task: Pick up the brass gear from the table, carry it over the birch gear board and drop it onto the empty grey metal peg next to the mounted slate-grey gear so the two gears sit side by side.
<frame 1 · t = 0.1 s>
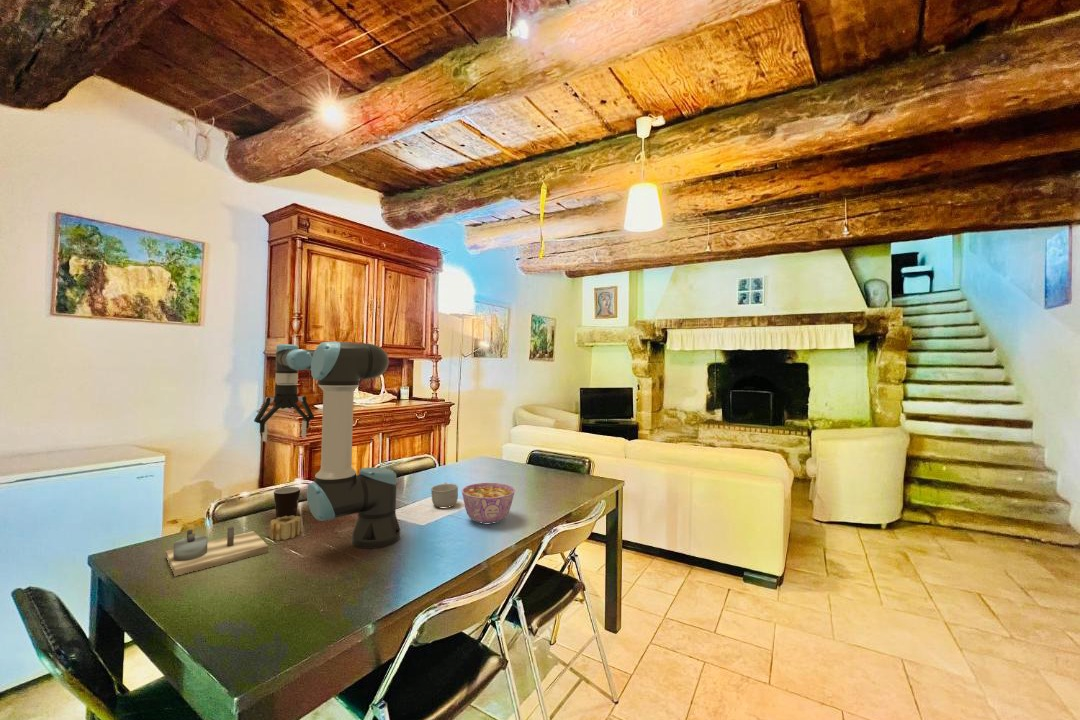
hand: (284, 439, 168), 28 cm above the table, tool pointing down, fingers open, 13 cm apart
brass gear: (285, 534, 146), on the table
coffee pot: (377, 503, 181), on the table
coffee mug: (288, 516, 164), on the table
birch gear board: (217, 555, 130), on the table
bowl of food: (487, 521, 164), on the table
teacup: (445, 505, 181), on the table
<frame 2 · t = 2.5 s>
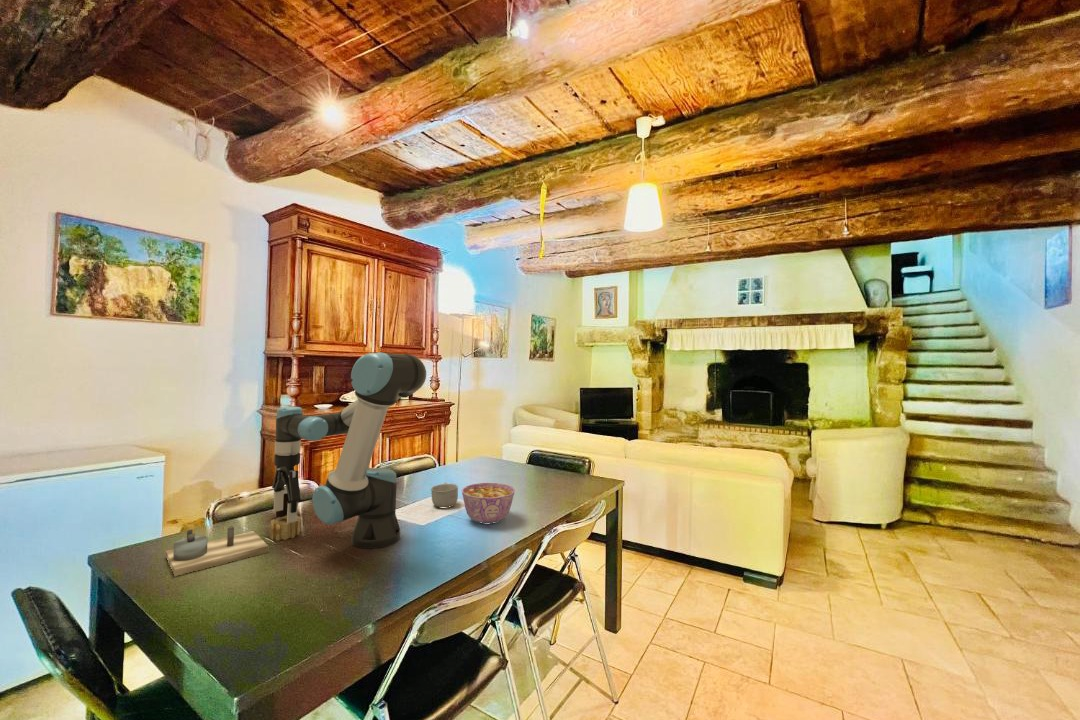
hand: (284, 516, 146), 6 cm above the table, tool pointing down, fingers open, 13 cm apart
nothing on the table moved.
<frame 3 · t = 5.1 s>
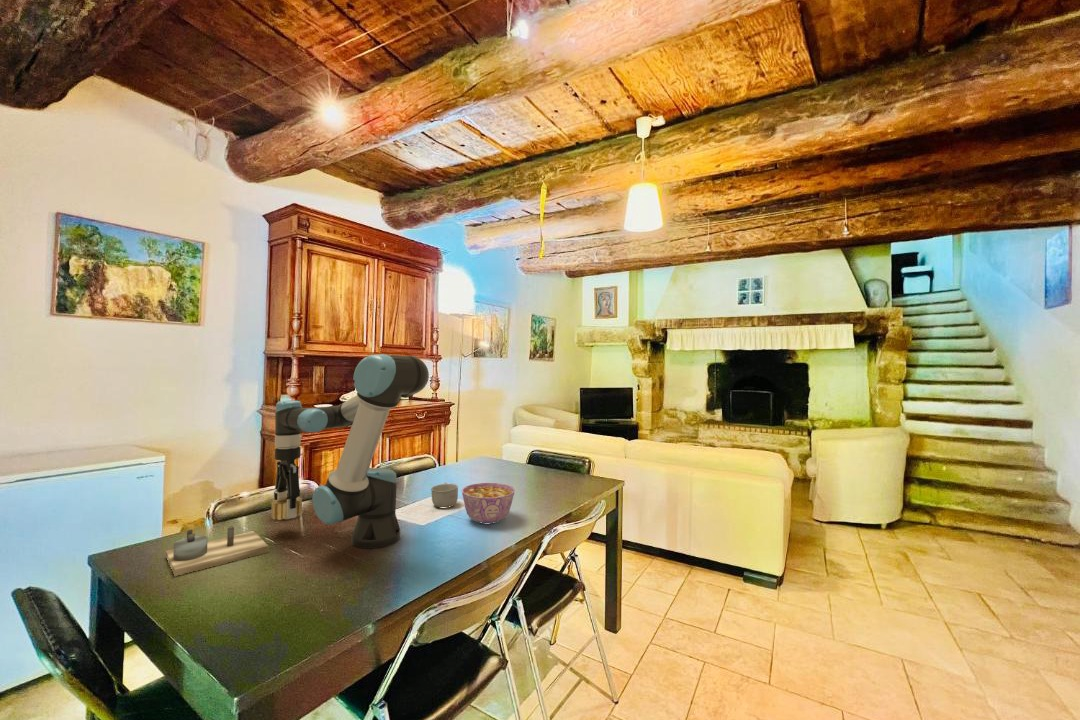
hand: (286, 514, 145), 7 cm above the table, tool pointing down, fingers closed on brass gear, 9 cm apart
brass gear: (286, 515, 145), point 7 cm above the table, touching gripper
everything else where it was.
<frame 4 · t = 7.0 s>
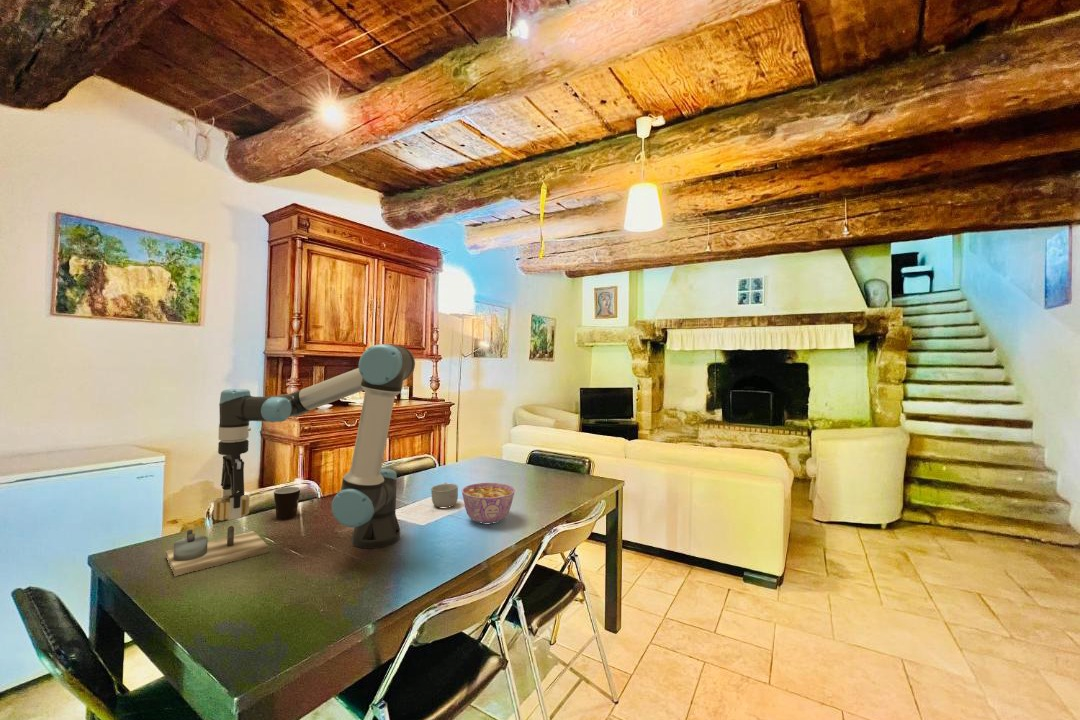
hand: (231, 514, 132), 11 cm above the table, tool pointing down, fingers closed on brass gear, 9 cm apart
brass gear: (231, 515, 132), point 11 cm above the table, touching gripper
everything else where it was.
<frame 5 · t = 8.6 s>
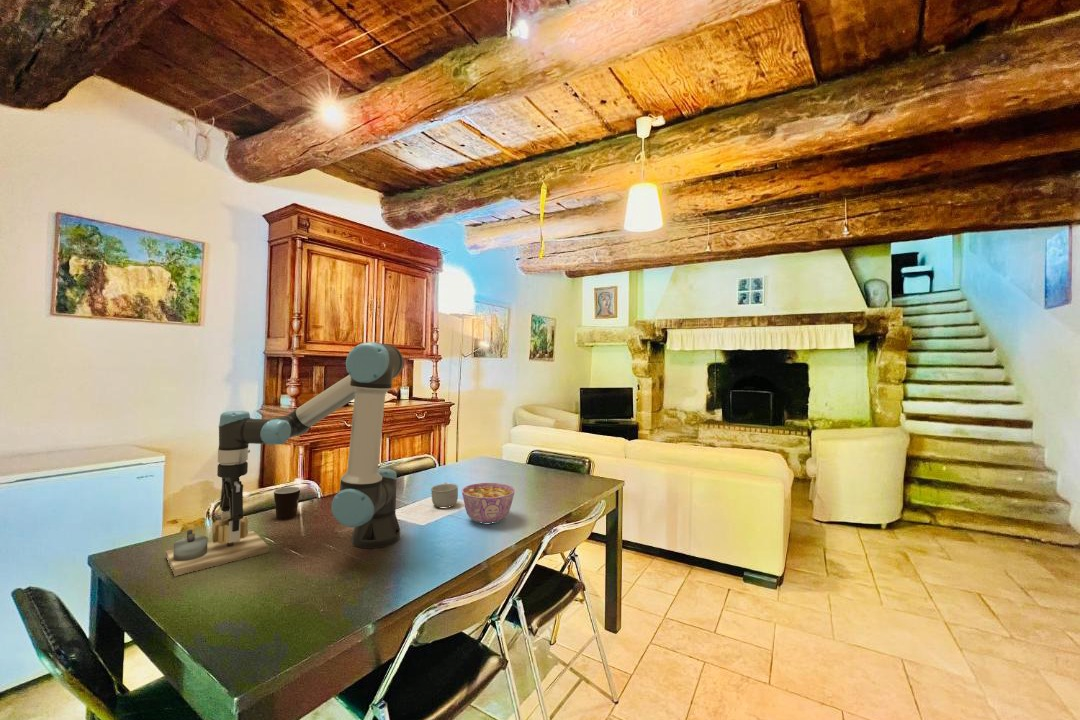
hand: (230, 536, 132), 5 cm above the table, tool pointing down, fingers closed on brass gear, 9 cm apart
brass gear: (230, 537, 132), point 4 cm above the table, touching gripper
everything else where it was.
when the fingers open (3 cm above the table, at t = 9.5 s): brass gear stays where it is, resting on birch gear board.
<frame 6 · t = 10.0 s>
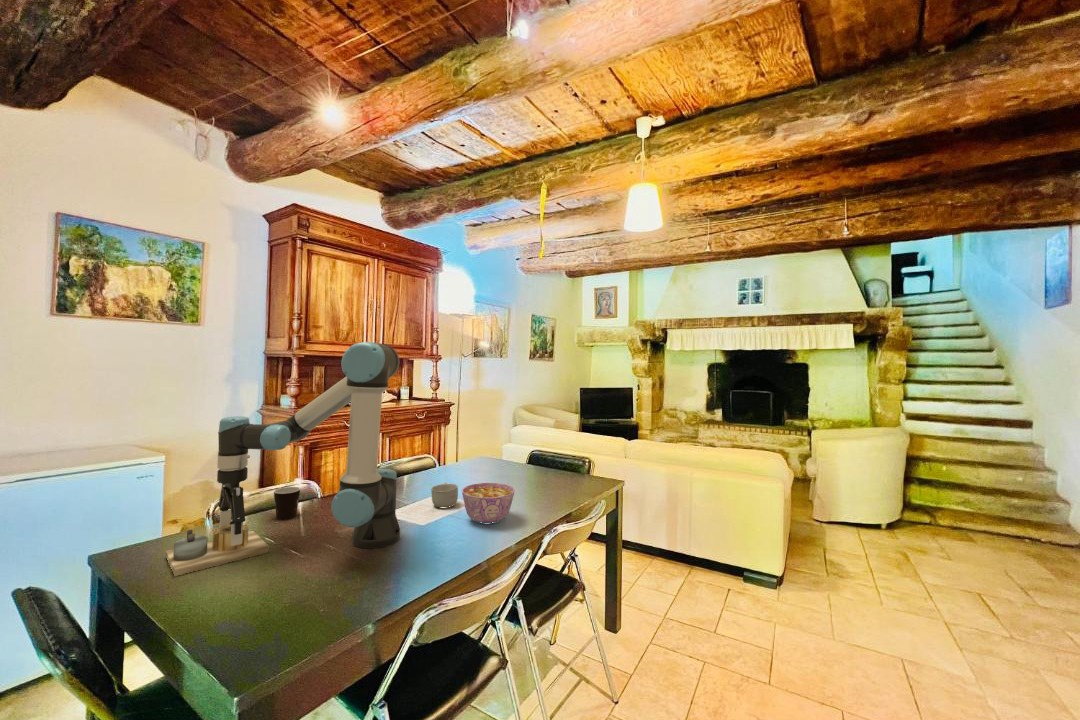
hand: (230, 538, 132), 4 cm above the table, tool pointing down, fingers open, 13 cm apart
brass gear: (230, 545, 132), point 2 cm above the table, touching birch gear board
everything else where it was.
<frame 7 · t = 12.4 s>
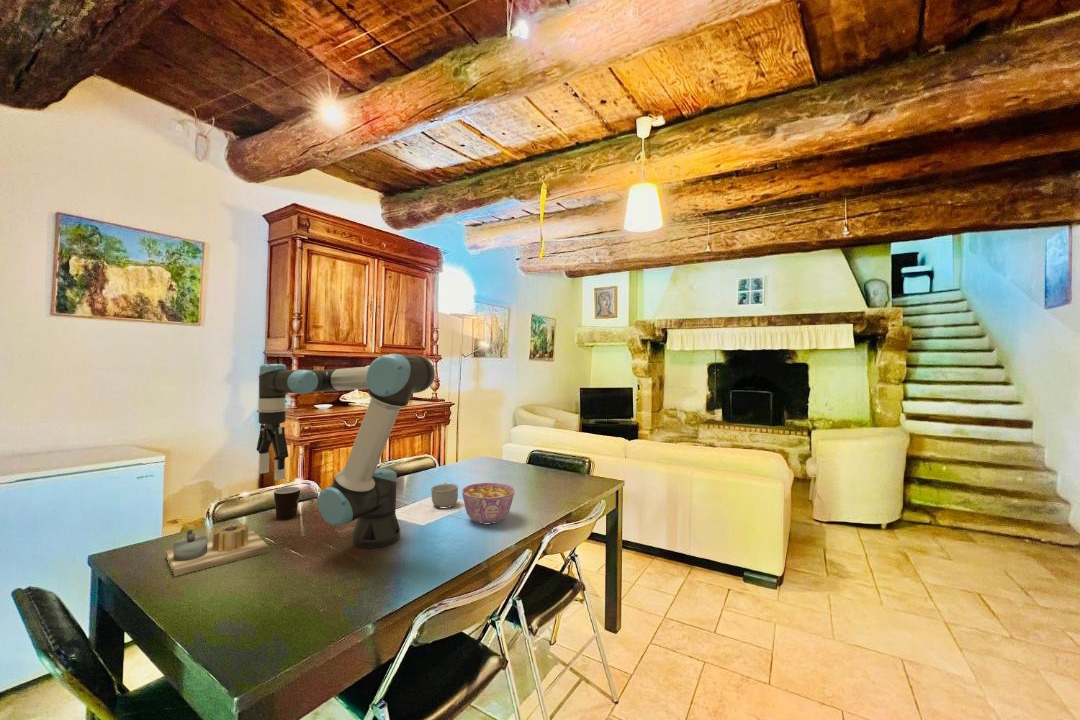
hand: (271, 476, 142), 21 cm above the table, tool pointing down, fingers open, 13 cm apart
nothing on the table moved.
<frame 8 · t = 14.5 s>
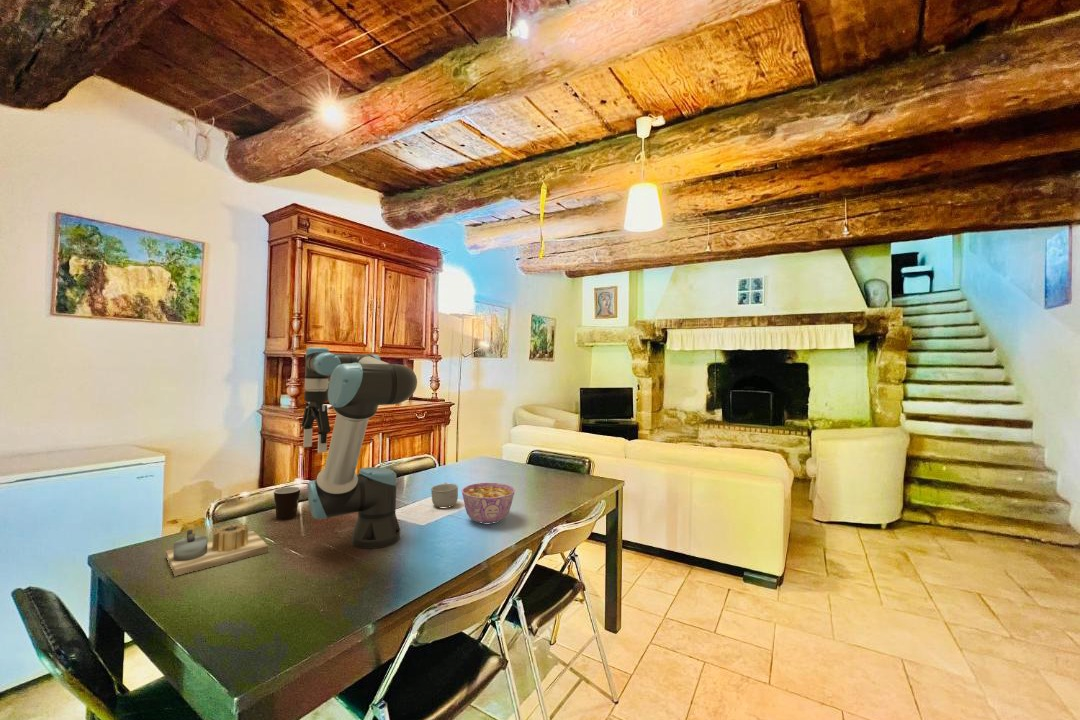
hand: (314, 449, 156), 27 cm above the table, tool pointing down, fingers open, 13 cm apart
nothing on the table moved.
at the end: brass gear 0.0 cm from the target spot on the birch gear board, point 2.0 cm above the birch gear board's base; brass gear tilted 0°; the gripper is holding nothing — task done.
